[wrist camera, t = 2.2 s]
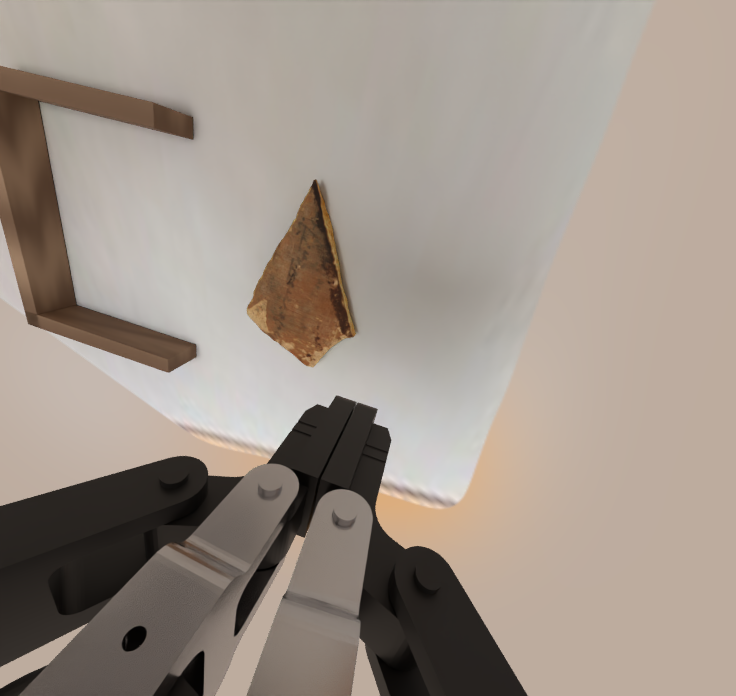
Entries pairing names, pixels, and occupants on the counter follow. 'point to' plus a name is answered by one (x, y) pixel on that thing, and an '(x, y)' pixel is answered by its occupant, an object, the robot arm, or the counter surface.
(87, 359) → the counter surface
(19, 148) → the wooden c-shaped bracket
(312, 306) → the shard
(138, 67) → the counter surface
